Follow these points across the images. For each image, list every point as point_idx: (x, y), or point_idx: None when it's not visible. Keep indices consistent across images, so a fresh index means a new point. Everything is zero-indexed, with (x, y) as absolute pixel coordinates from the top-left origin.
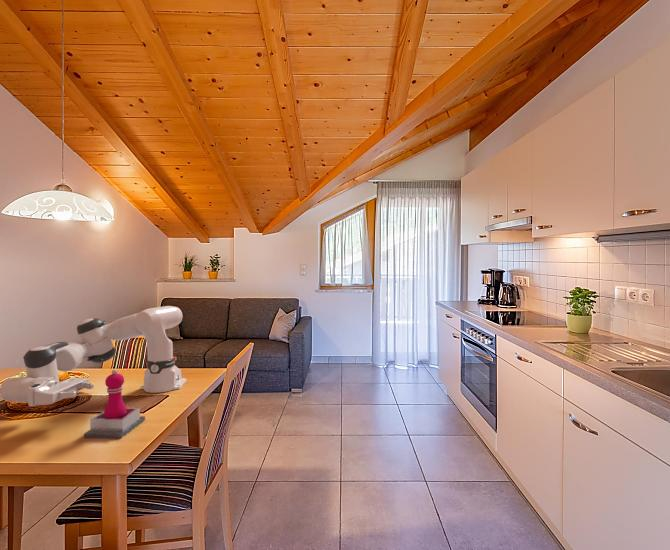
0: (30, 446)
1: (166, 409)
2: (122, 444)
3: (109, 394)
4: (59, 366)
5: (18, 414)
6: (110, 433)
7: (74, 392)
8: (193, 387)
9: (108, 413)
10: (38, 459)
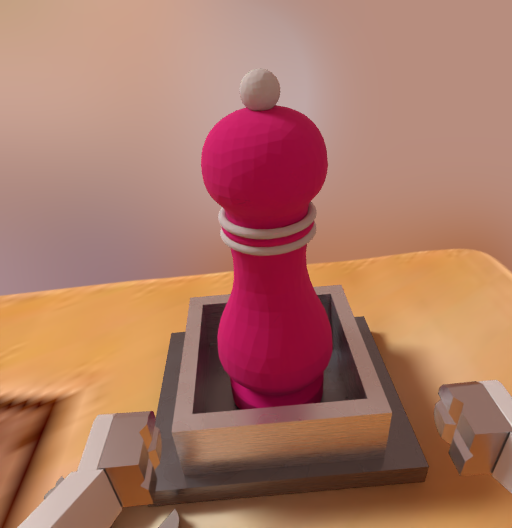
0: None
1: (49, 336)
2: (401, 304)
3: (304, 248)
4: None
5: None
6: (374, 350)
7: (476, 382)
8: None
9: (330, 329)
10: None
